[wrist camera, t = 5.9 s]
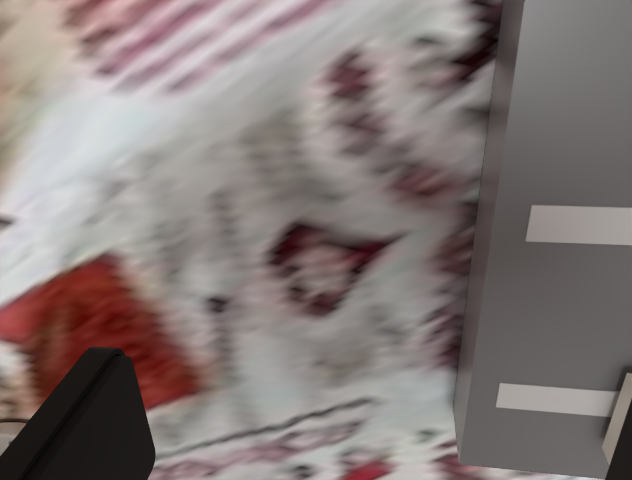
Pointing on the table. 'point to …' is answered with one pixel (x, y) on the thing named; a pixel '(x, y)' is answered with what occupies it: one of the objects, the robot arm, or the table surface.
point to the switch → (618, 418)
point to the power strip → (551, 244)
